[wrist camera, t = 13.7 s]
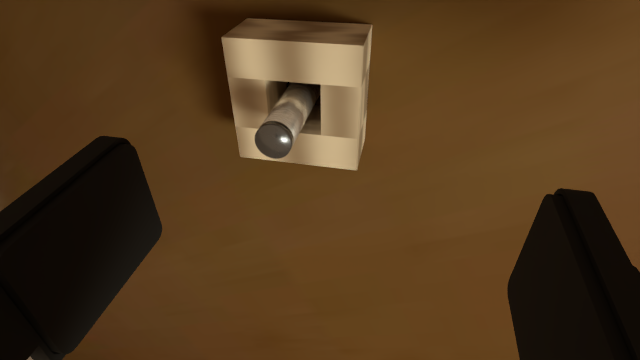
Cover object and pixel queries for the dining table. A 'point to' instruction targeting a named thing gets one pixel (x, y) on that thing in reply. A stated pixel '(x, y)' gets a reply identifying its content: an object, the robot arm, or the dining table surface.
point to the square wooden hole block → (301, 67)
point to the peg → (286, 119)
